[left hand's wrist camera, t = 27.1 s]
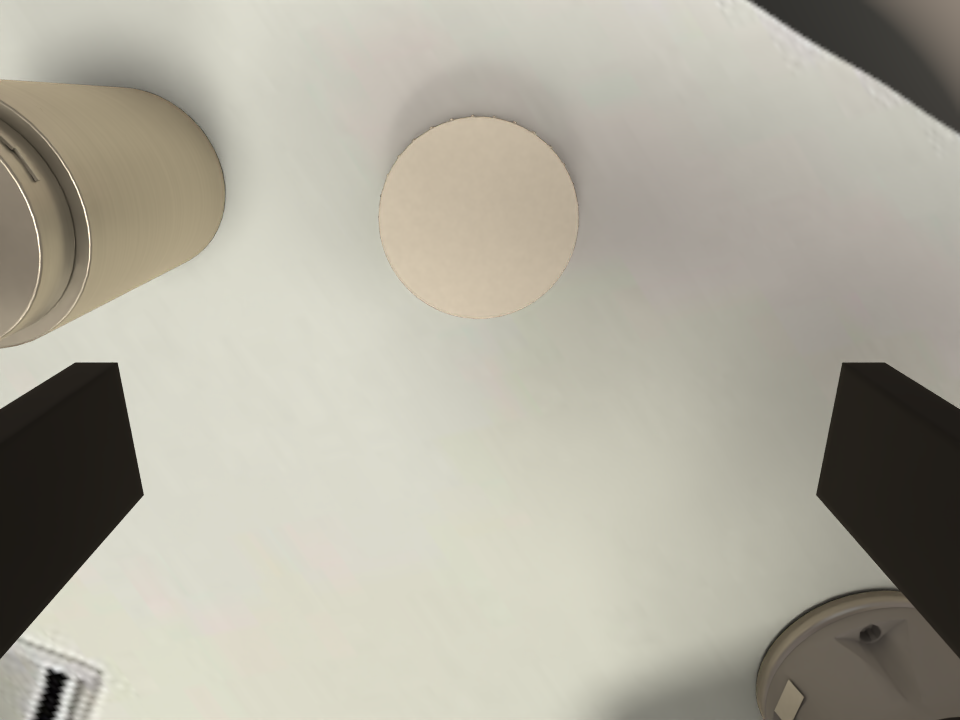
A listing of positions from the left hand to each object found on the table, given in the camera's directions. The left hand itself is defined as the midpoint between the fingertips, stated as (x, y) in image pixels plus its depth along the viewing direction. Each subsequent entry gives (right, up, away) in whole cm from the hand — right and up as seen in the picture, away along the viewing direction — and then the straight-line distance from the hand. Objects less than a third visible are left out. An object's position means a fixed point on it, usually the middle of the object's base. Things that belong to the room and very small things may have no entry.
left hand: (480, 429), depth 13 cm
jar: (-18, +11, +24) cm, 32 cm away
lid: (0, +8, +23) cm, 24 cm away
